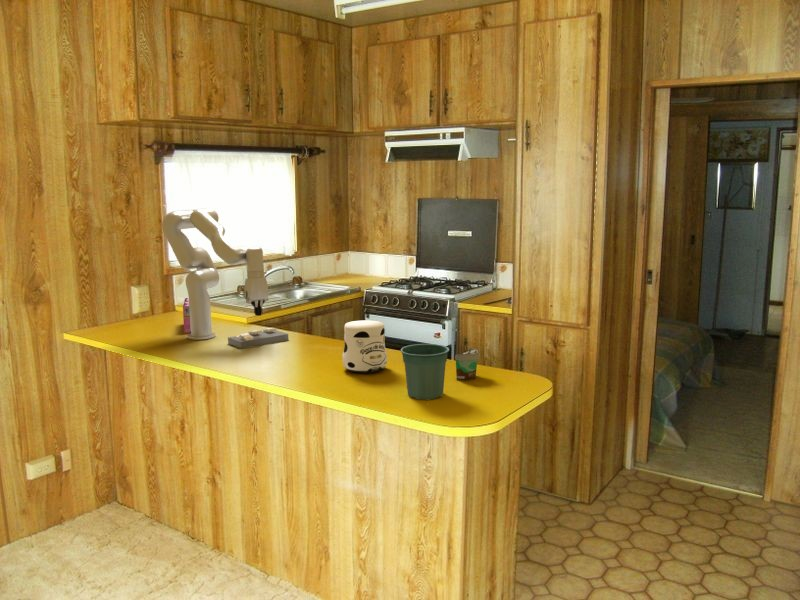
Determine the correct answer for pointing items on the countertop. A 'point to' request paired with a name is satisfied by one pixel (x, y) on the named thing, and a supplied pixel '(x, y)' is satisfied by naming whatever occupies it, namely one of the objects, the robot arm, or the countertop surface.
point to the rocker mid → (255, 332)
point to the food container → (466, 365)
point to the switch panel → (258, 339)
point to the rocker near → (246, 336)
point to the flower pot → (425, 370)
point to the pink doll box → (186, 316)
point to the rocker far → (269, 329)
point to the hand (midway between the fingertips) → (258, 315)
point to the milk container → (364, 346)
